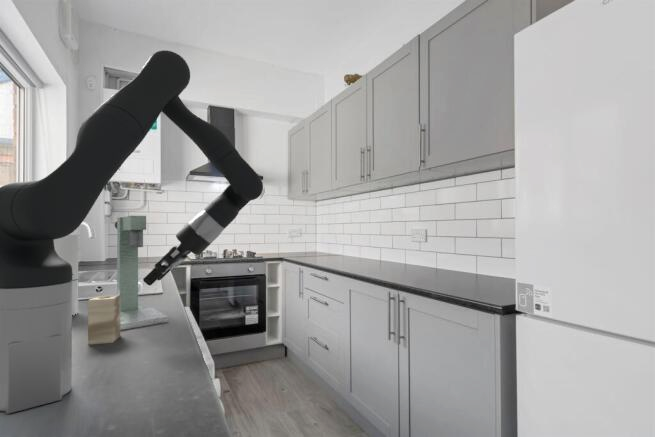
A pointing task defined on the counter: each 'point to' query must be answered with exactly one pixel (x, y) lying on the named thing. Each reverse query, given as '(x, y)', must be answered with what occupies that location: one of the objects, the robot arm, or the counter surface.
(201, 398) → the counter surface
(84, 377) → the counter surface
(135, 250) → the press
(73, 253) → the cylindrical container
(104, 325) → the block
